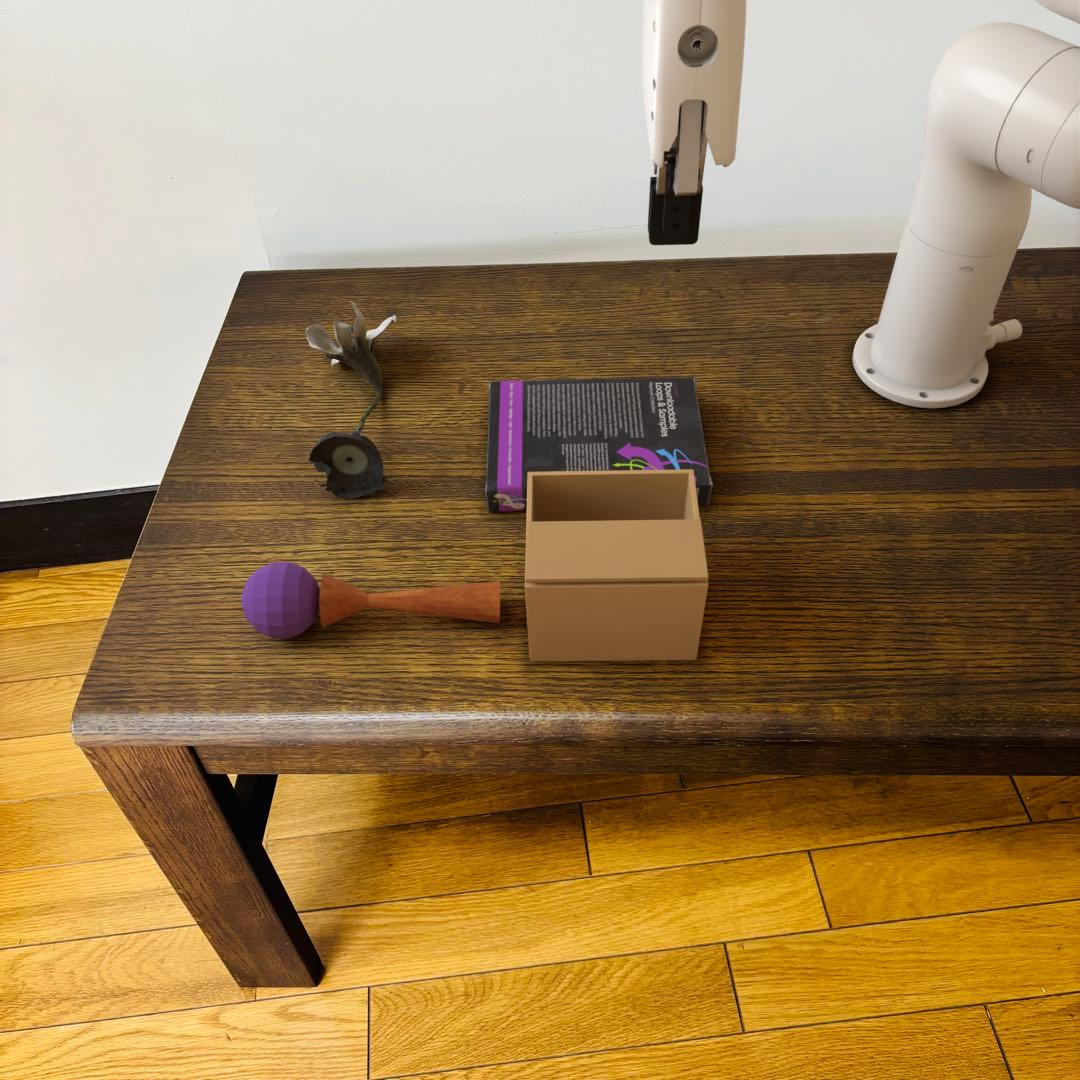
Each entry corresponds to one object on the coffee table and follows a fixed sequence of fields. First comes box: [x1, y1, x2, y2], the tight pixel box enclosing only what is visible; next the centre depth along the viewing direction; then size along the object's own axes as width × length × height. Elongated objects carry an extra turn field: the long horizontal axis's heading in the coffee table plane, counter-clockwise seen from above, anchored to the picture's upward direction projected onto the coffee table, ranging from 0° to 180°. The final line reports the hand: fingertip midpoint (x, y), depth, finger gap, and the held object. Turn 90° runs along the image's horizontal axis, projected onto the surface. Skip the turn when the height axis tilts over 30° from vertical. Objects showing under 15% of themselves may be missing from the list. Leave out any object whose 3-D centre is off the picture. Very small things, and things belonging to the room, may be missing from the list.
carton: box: [524, 469, 709, 662], centre depth 77 cm, size 13×11×9 cm
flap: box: [524, 518, 709, 583], centre depth 71 cm, size 13×6×1 cm, turn 90°
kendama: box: [240, 561, 501, 639], centre depth 78 cm, size 6×6×20 cm
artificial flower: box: [305, 300, 397, 500], centre depth 94 cm, size 9×22×10 cm, turn 179°
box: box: [484, 376, 714, 513], centre depth 90 cm, size 14×4×20 cm
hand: (672, 237), depth 66 cm, fingers closed
